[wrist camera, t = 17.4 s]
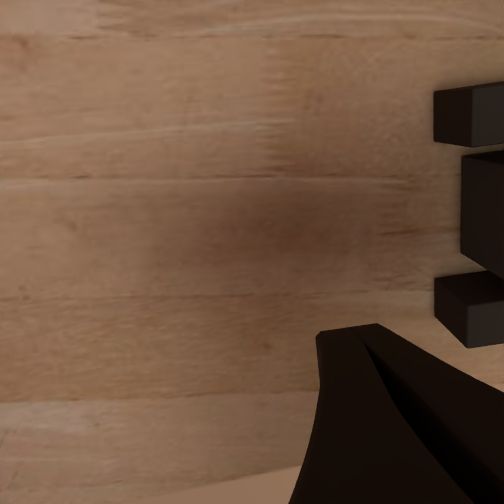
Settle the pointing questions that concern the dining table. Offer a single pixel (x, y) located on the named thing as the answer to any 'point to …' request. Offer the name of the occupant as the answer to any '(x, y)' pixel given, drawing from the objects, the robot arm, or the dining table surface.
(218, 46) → the dining table surface
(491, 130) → the black u-shaped block
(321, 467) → the robot arm
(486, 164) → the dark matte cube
